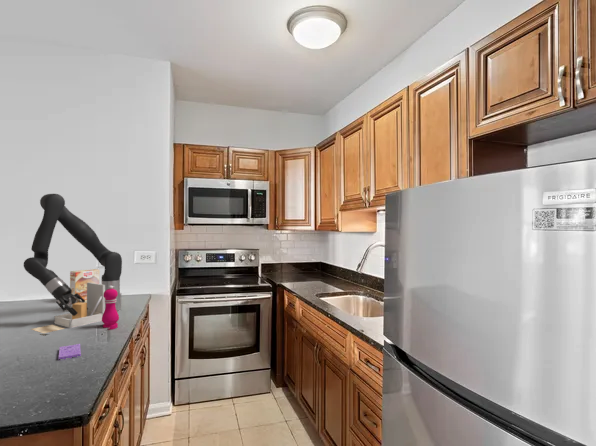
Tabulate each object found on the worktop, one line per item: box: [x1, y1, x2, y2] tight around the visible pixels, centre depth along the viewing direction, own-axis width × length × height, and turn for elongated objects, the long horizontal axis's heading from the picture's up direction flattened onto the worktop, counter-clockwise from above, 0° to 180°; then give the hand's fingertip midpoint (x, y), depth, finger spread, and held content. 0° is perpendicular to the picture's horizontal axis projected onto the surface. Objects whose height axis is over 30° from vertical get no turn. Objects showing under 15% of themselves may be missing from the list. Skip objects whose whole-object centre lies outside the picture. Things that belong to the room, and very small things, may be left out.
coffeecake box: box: [69, 268, 100, 303], centre depth 231 cm, size 15×7×20 cm, turn 147°
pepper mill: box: [101, 286, 120, 331], centre depth 173 cm, size 7×7×20 cm
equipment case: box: [53, 283, 105, 329], centre depth 179 cm, size 17×14×18 cm
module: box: [72, 302, 87, 319], centre depth 179 cm, size 4×4×9 cm
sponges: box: [58, 343, 82, 360], centre depth 139 cm, size 7×13×2 cm, turn 32°
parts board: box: [30, 324, 66, 337], centre depth 167 cm, size 9×12×1 cm
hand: (81, 312), depth 179 cm, fingers open, 8 cm apart
